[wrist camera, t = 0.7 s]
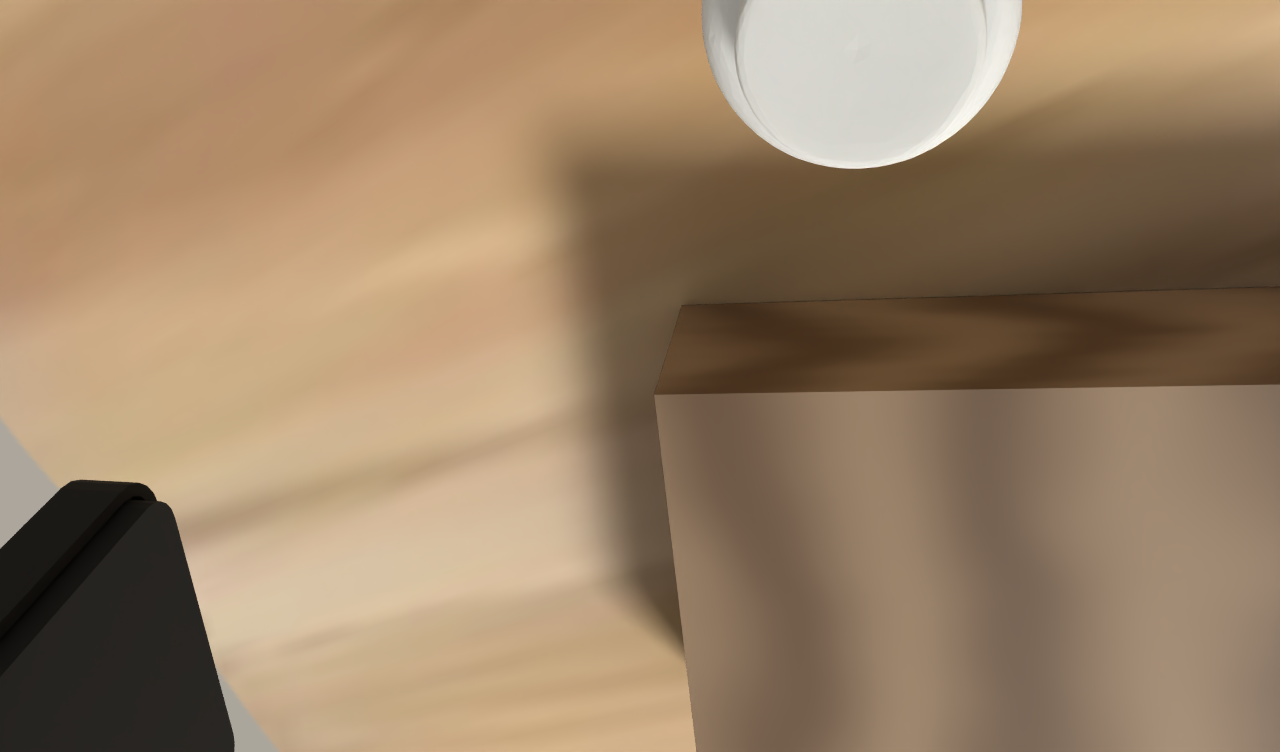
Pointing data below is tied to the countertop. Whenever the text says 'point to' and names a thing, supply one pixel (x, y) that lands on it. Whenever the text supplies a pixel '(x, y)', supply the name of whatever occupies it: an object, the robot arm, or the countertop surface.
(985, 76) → the supplement bottle
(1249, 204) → the countertop surface
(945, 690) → the walnut riser
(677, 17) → the countertop surface
